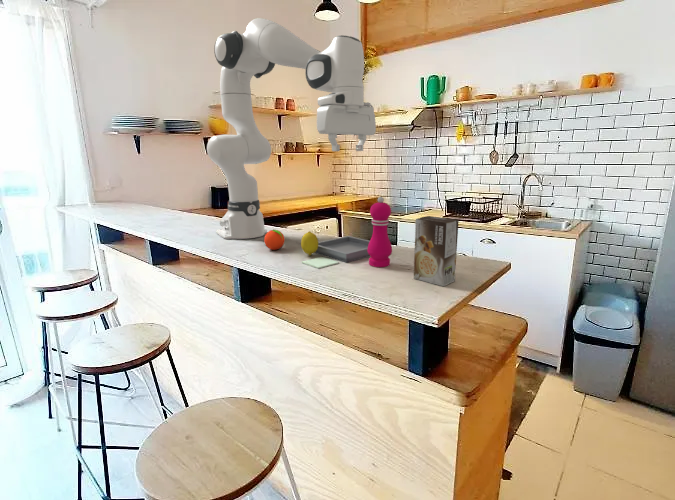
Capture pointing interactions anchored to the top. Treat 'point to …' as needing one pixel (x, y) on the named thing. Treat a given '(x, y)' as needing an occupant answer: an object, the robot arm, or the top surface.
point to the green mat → (320, 262)
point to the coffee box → (435, 249)
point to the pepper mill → (380, 235)
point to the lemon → (309, 243)
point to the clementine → (274, 239)
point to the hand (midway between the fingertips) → (347, 151)
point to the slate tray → (344, 248)
